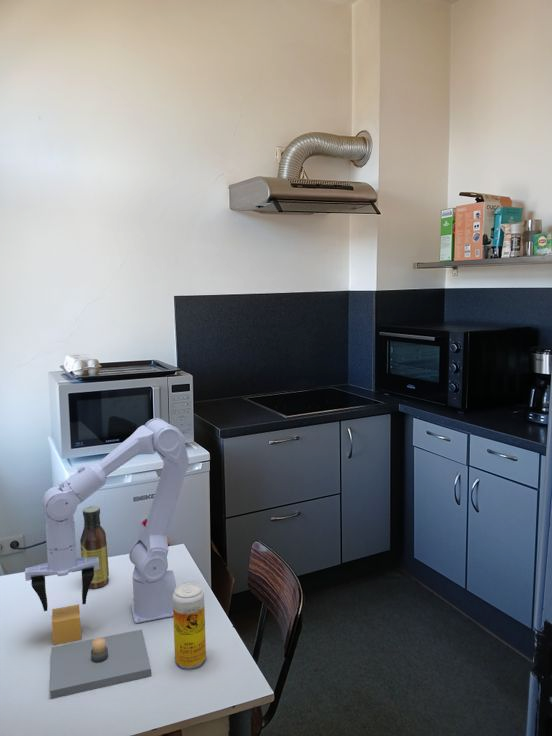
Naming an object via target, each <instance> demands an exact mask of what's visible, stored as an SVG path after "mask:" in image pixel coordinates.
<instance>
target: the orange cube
mask: <svg viewBox="0 0 552 736" xmlns="http://www.w3.org/2000/svg"><path fill="white" fill-rule="evenodd" d="M51 611H52V613H51V628H52V630H51V631H52V645H53V646H56V645H60V644H65V643H71V642H76V641H80V640H81V641H82V629H81V628H82V627H81V614H80V611H81V610H80V604H74V605H68V606H61V607H57V608H52V609H51Z"/></svg>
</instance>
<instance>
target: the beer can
mask: <svg viewBox="0 0 552 736" xmlns="http://www.w3.org/2000/svg"><path fill="white" fill-rule="evenodd" d="M205 611H206V610H205V592H204V591H203V588H202V586H201V585H200V584H197V583H193V582H188V583H182V584H180V585H178V586H176V589H175V591H174V594H173V616H172V617H173V640H174V642H173V643H174V660H175V662H176V663H177V664H178V666H179V667H180V668H183V669H189V670H190V669H194V668H195V669H196V668H199V666H201V665H202V664H203V662H204V661H205V659H206V658H207V651H206V650H207V648H206V647H207V646H206V645H207V643H206V617H205V616H206V615H205V614H206V613H205Z"/></svg>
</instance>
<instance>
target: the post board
mask: <svg viewBox="0 0 552 736" xmlns="http://www.w3.org/2000/svg"><path fill="white" fill-rule="evenodd" d="M144 637H145V636H144V632H143V629H137V630H131V631H127V632H122V633H117V634H112V635H107V636H102V637H96V638H92V639H86V640H81V641H77V642H76V641H75V642H72V643H71V642H70V643H67V644H62V645H58V646H56V645H55V646H51V651H50V652H51V653H50V683H49V686H50V687H49V693H50V694H49V695H50V699H55V698H60V697H63V696H68V695H73V694H76V693H77V694H78V693H81V692H86V691H90V690H95V689H100V688H104V687H109V686H112V685H117V684H123V683H126V682H131V681H136V680H139V679H144V678H148V677H151V676H152V666H151V663H150V658H149V654H148V651H147V645H146V642H145V638H144Z"/></svg>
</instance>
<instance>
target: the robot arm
mask: <svg viewBox="0 0 552 736" xmlns="http://www.w3.org/2000/svg"><path fill="white" fill-rule="evenodd" d="M154 450H155V451H156V452H157V455H158V456H159V457H160V459H161V461H162V462H163V466H162V469H161V473H160V476H159V479H158V483H157V486H156V490H155V492H154V497H153V500H152V503H151V507H150V510H149V514H148V517H147V519H146V523H145V526H144V529H143V530H142V531H140V533H138V536H137V539H136V541H135V543H133V545H132V546H131V547H130V550H129V554H128V555H129V556H128V557H129V560H130V562H131V563H132V564H133V565H134V569H133V571H132V589H133V593H132V594H133V603H131V604H130V608H131V613H132V618H133V621H134V623H135V624H139V623H144V622H149V621H155V620H160V619H164V618H170V617H173V594H174V591H175V589H176V587H177V586H176V585H177V584H176V578H175V572H174V571H173V570H171V569H170V570H168V566H169V563H168V562H169V561H168V553H169V544H168V543H169V542H168V535H169V530H170V528H171V525H172V522H173V519H174V518H173V517H174V514H175V512H176V511H175V510H176V507H177V504H178V501H179V497H180V493H181V490H182V487H183V484H184V481H185V477H186V474H187V470H188V466H189V463H190V460H189V455H188V451H187V447H186V438H185V436H184V434H183V433H182V432H181V431H180V430H179V428H178V427H176V426H174V425H171V424H170V423H168V422H167V421H165V420H164V419H163V418H159V417H156V418H152V419H149V420H148V421H147V422H146V423H145V424H143V425H141V426H139V427H137V428H136V430H135V431H134V432H133V433H132V434H131V435H130V436H129V437H127V438H126V439H125V440H124V441H122V443H119V445H118V446H116V447H115V448H114V449H113V450H112V451H110V452H109V453H108V454H107V455H105V457H103V458H102V459H101V460H100V461H99V462H97V463H92V462H91V463H87V464H86V465H84V464H81V465H80V466H78V467H77V468H76V469H77V471H76V472H75V473H73V474H72V475H71V476H70V477H68V478H66V480H64V481H62V480H61V481H60V482H58V484H57V486H52V487H51V488H49V489H48V490H46V491H45V493H44V496H42V500H41V504H42V507H43V509H44V511H45V517H44V518H45V519H44V520H45V523H46V524H45V537H46V552H47V554H46V555H47V562H44V563H41V564H37V565H34V566H30V567H25V571H24V577H25V582H27V581H31V582H30V583H31V587H32V589H33V590H34V591H35V593H36V594H37V597H38V598H39V600H40V602H41V605H42V609H43V612H47V611H48V607H49V606H48V596H47V590H46V589H47V588H46V577H49V576H50V577H51V576H57V577H63V576H68V575H69V574H70V573H75V572H81V580H82V581H81V582H82V584H81V586H82V587H81V603H82V605H86V604H87V597H88V593H89V589H90V588H89V587H90V584H91V582H92V580H93V577H94V570H98V569H99V559H98V557H95V558H81V557H78V556H77V543H76V540H77V539H76V525H75V523H76V522H75V520H74V519H75V518H74V514H75V513H76V512H77V508H78V506H79V505H80V504H82V503H83V502H84V501H85V500H87V499H88V498H90V497H91V496H93V494H95V493H97V491H99V490H100V489H101V488H103V487H104V486H105V485H106V481H107V477H108V476H109V475H110V474H112V473H113V472H114V471H116V470H117V469H119V468H120V467H122V466H124V465H125V464H126V463H128V462H130V460H132V459H134V458H136V456H138V455H156V454H155V451H154Z"/></svg>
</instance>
